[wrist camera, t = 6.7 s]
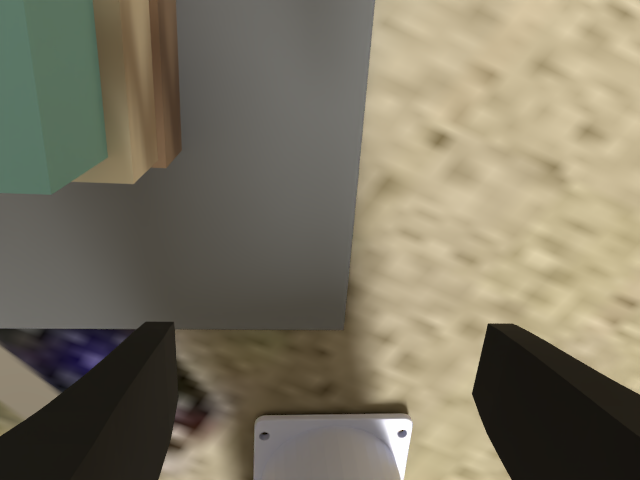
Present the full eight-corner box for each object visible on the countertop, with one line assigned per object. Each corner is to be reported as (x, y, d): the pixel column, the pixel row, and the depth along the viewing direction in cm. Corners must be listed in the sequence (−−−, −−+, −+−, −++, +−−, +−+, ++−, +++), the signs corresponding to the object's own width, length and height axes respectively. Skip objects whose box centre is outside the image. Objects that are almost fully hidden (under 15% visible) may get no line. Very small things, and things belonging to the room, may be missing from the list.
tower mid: (157, 160, 16) (133, 184, 13) (-23, 152, 15) (-90, 175, 12) (147, -31, 14) (115, -52, 11) (-63, -49, 13) (-152, -75, 10)
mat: (342, 325, 23) (343, 330, 22) (-23, 323, 21) (-29, 328, 20) (386, -140, 16) (388, -145, 16) (-139, -201, 14) (-150, -207, 14)
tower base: (181, 150, 19) (166, 168, 16) (16, 143, 18) (-31, 160, 15) (174, -25, 16) (155, -41, 14) (-14, -41, 16) (-74, -61, 13)
